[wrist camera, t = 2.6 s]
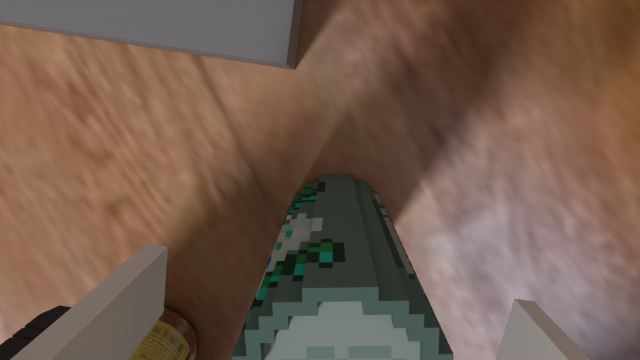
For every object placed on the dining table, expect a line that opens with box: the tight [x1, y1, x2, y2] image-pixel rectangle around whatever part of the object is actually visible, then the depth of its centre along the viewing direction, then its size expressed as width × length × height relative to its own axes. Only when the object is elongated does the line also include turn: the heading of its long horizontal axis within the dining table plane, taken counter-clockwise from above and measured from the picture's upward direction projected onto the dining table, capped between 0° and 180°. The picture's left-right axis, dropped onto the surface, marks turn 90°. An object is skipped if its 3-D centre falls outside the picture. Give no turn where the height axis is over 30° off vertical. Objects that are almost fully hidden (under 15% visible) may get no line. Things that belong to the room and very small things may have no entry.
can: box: [232, 174, 453, 360], centre depth 18 cm, size 6×6×15 cm
